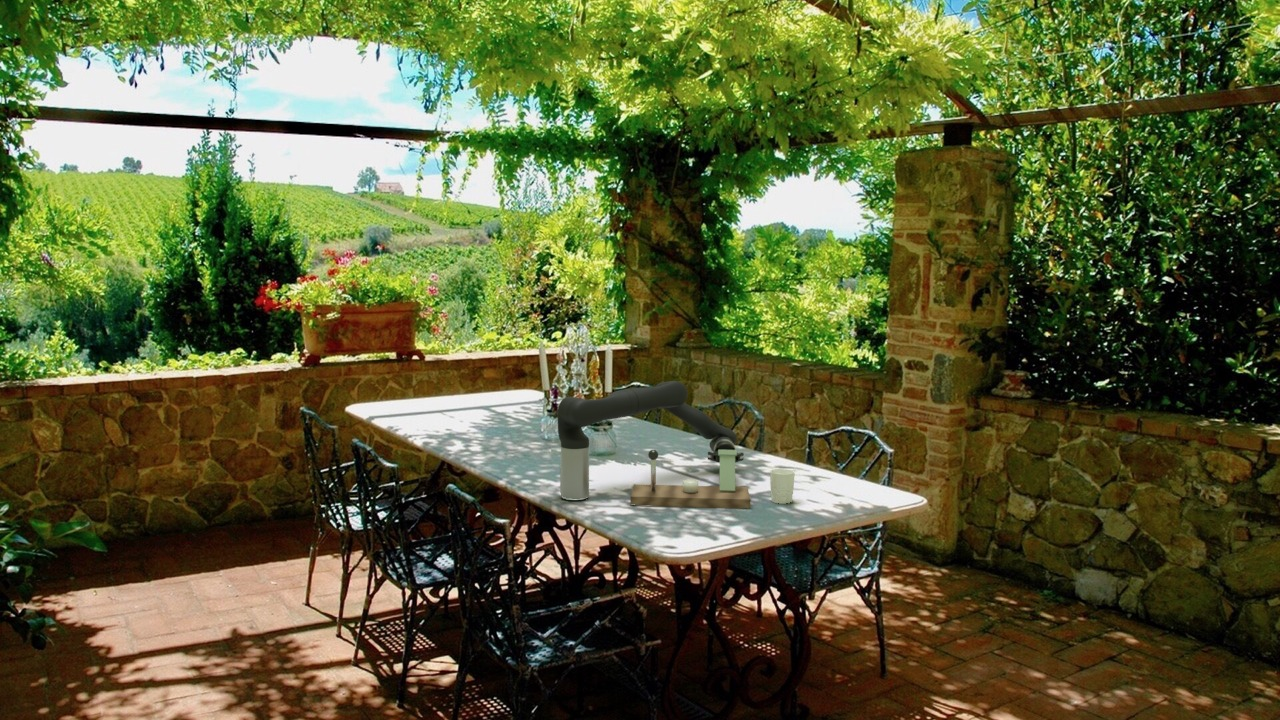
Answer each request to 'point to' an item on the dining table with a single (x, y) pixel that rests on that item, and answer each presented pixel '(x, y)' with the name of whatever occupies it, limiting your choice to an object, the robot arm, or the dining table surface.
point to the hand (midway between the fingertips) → (726, 461)
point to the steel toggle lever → (653, 468)
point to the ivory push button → (690, 486)
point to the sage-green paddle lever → (727, 469)
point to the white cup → (782, 485)
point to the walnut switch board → (690, 497)
